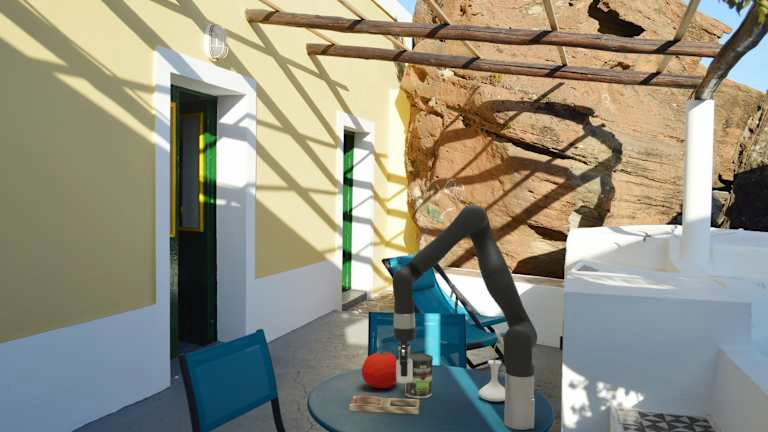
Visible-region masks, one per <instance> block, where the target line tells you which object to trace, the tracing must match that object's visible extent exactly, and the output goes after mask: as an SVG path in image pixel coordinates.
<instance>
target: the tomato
mask: <svg viewBox="0 0 768 432" xmlns="http://www.w3.org/2000/svg"><path fill="white" fill-rule="evenodd" d="M397 360H398V359H397V357H396V356H395V355H394V354H392V353H391V350H390V351H389V350H388V351H381V350H380V348H378V352H375V353H373V354H370V355H369V356H368V357H366V358H365V360H364V362H363V364H362V366H361V377H362V378H363V381H364V382H365V383H366V384H367V385H369V386H370V387H373V388H376V389H389V388H390V387H391V386H394V384H395V383H396V382H397V381H396V362H397Z"/></svg>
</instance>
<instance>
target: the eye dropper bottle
mask: <svg viewBox="0 0 768 432" xmlns="http://www.w3.org/2000/svg"><path fill="white" fill-rule="evenodd" d="M407 355H408V353H407ZM402 362H406V360H402ZM412 381H413V361H412V360H411V359H410V358H409V359H408V366H407V376H406V377H403V376H401V366H400V358H398V359H397V362H396V382H397V383H398V384H405V383H410V382H412Z"/></svg>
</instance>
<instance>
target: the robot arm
mask: <svg viewBox="0 0 768 432" xmlns="http://www.w3.org/2000/svg"><path fill="white" fill-rule="evenodd" d="M468 236H469V238H470V240H471V242H472V244H473V247H474V249H475V253H476V258H477V263H478V268H479V271H480V275H481V277H482V280H483V282H484V285H485V287H486V290H487V292H488V294H489V295H490V296H491V298H492V299H493V301H494V302H495V304H497V306H498V308H499V309H500V310H501V311H502V313H503V315H504V318H505V320H506V324H507V326H508V329H507V330H506V332H505V334H504V337H503V341H504V347H503V365H504V367H505V372H504V373H505V375H504V381H505V382H504V388H505V400H504V415H503V416H504V417H503V419H504V420H503V422H504V425H505V426H506V427H508V428H510V429H513V430H521V431H522V430H529V429H535V406H536V404H535V403H536V401H535V397H534V396H535V394H534V393H535V392H534V391H535V366H534V364H533V348H534V347H535V346H536V344H537V342H538V333H537V330H536V328H535V326H534V324H533V323H532V320H531V319H530V317H529V315H528V313H527V311H526V310H525V307H524V305H523V302H522V299H521V296H520V293H519V291H518V289H517V286H516V283H515V281H514V278H513V275H512V272H511V270H510V268H509V266H508V264H507V261H506V259H505V257H504V256H503V255H504V254H503V253H502V252H501V249H500V248H499V245H498V244H497V241H496V240H495V236H494V234H493V230H492V227H491V223H490V219H489V215H488V214H487V211H486V210H485V209H484V208H483V207H481V206H479V205H477V204H469V205H466V206H464V208H462V209H461V211H460V212H459V213H458V214H457V216H456V217H455V218H454V219H453V220H452V222H451V223H450V224H449V225H448V226H447V227H446V228H445V229H444V230H443V231H442V232H441V233H439V235H437V236H436V237H435V238H434V239H433V240H432V241H430V242H429V243H428V244H427V245H426V246H424V247H423V248H422V249H421V250H420V251H418V252H417V253H416V254H415V255H414V256H413V257H412V259H410V260H409V261H408V262H407V263H406V264H404V265H402V267H401V268H399V269H398V270H396V272H394V274H393V276H392V291H393V298H394V303H393V307H394V308H393V311H394V312H393V339H394V340H395V341H399V342H400V343H398V348H397V349H398V359H400V366H401V376H403V377H406V376H407V366H408V359H409V355H410V354H411V351H410V350H411V343H410V341H411V342H412V341H414V340H415V339H416V316H415V299H414V297H413V286H414V284H415V283H416V281H418V280H419V279H420V278H421V277H422V276H423V275H424V274H426V273H428V272H429V271H430V270H431V269H433V268H434V267H435V266H436V265H437V264H438V263H440V262H441V261H442V260H443V258H445V256H446V255H448V253H449V252H450V251H451V250H452V249H453V248H454V247H455V246H456V245H457V244H458V243H460V242H461V241H462V240H464V239H465V238H466V237H468ZM407 353H408V355H407ZM402 360H406V362H402Z"/></svg>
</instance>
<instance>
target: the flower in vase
mask: <svg viewBox="0 0 768 432" xmlns="http://www.w3.org/2000/svg"><path fill="white" fill-rule="evenodd" d="M494 333H495V336H496V338H497V341H496V343H495V345H494V347H493V349H492V353H493V355H492V357H491V358H493V359H491V360H487V364H489V367H490V373H491V377H490V381H489V382H488V383H487V384H486V385H484V386H483V387H481V388H480V390H479V391H478V393H477V394H478V396H479V397H480V398H482V399H483V400H486V401H489V402H503V401H504V402H505V386H503V385H502V384H501V383H500V382H499V380H498V376H499V375H498V373H499V368H500V366H501V364H502V361H500V360H497V359H495V358H496V357H499V354H497V353H496V352H495V350H496V346H497V344H498V343H500V344H501V346H502V347H503V348H504V337H502V336H501V335H500V334H501V333H500V332H499V331H498V329H495V330H494Z"/></svg>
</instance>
